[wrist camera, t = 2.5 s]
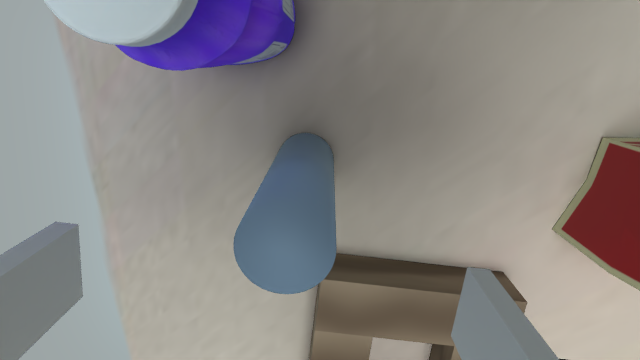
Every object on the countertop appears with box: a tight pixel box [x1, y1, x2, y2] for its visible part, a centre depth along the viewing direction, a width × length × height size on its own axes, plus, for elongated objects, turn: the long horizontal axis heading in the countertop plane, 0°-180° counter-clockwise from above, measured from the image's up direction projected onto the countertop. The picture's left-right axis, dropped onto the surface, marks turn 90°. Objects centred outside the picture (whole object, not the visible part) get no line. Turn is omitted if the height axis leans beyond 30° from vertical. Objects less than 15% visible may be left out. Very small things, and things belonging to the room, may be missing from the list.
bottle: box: [44, 0, 295, 71], centre depth 18 cm, size 7×6×17 cm
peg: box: [234, 133, 336, 294], centre depth 23 cm, size 4×4×14 cm
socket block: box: [309, 253, 527, 360], centre depth 32 cm, size 14×14×4 cm
